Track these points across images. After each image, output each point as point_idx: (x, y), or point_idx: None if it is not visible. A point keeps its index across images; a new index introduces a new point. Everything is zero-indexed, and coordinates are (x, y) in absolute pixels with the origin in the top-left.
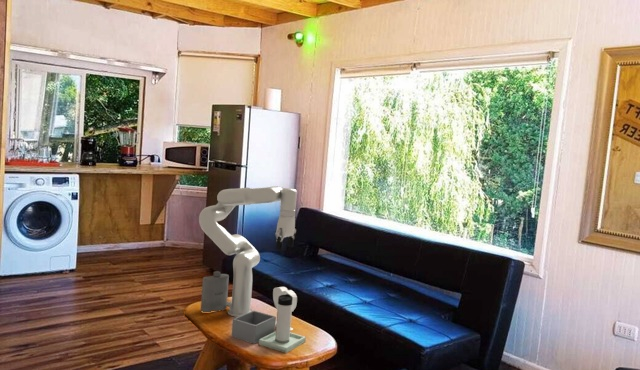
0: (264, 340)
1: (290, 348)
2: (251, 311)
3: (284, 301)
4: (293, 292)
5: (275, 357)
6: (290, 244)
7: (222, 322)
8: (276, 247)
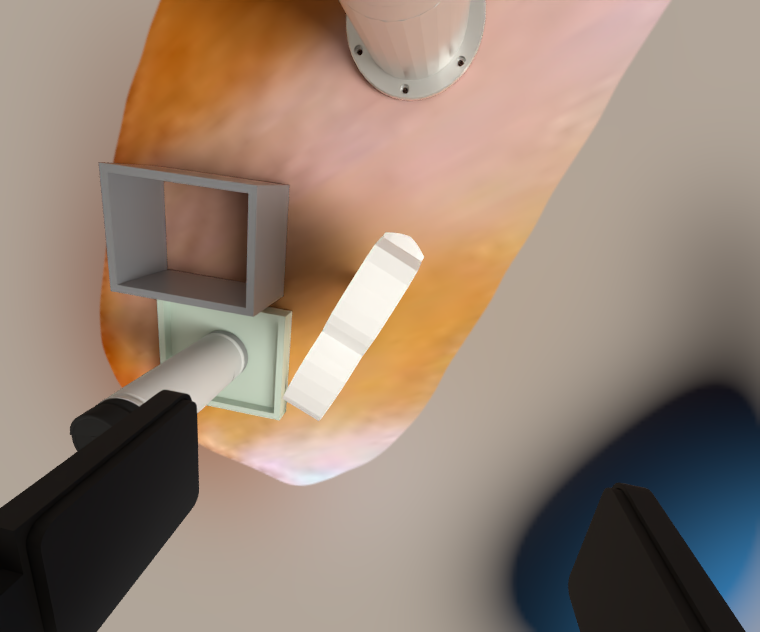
0: (161, 313)
1: None
2: (237, 183)
3: (79, 449)
4: (323, 405)
5: (129, 371)
6: (600, 603)
7: (252, 26)
8: (147, 404)
